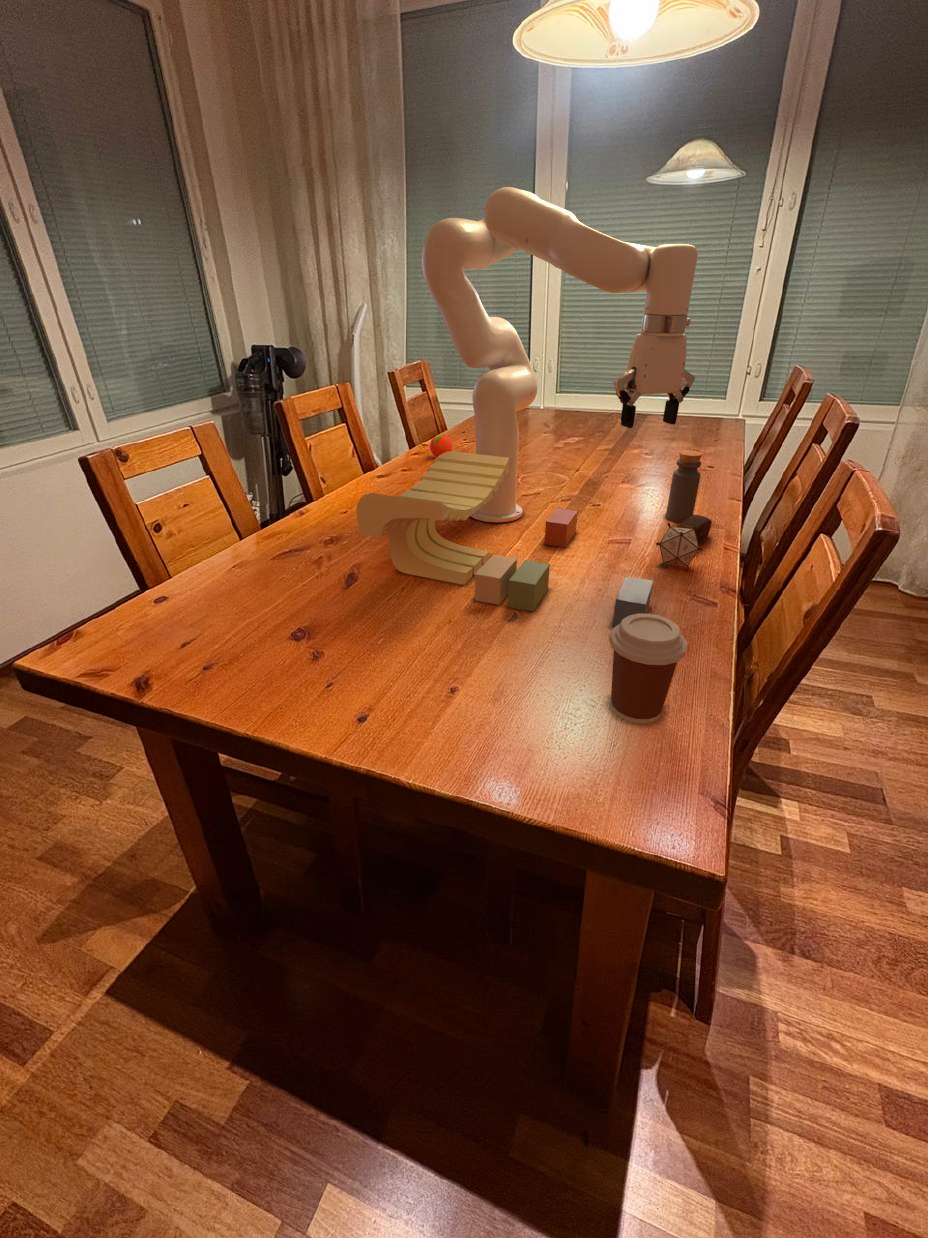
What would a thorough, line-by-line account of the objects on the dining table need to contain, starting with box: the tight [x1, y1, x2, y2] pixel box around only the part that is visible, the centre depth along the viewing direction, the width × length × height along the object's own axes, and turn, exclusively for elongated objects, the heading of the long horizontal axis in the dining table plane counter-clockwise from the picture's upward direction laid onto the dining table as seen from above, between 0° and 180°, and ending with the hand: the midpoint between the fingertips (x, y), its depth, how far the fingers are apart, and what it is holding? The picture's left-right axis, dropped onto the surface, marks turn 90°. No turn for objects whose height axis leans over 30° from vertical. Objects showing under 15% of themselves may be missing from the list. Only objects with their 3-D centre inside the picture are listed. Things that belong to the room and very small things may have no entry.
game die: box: [655, 522, 704, 571], centre depth 114 cm, size 9×8×10 cm
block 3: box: [611, 576, 654, 628], centre depth 97 cm, size 4×9×5 cm, turn 157°
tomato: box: [429, 434, 453, 458], centre depth 184 cm, size 8×7×7 cm
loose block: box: [543, 507, 579, 548], centre depth 127 cm, size 4×9×5 cm, turn 157°
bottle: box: [665, 450, 703, 523], centre depth 136 cm, size 6×6×15 cm
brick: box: [676, 514, 712, 545], centre depth 126 cm, size 11×4×5 cm, turn 141°
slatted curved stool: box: [355, 450, 509, 586], centre depth 112 cm, size 30×16×18 cm, turn 156°
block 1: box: [474, 554, 518, 606], centre depth 105 cm, size 4×9×5 cm, turn 157°
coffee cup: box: [608, 613, 688, 724], centre depth 75 cm, size 9×9×12 cm
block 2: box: [507, 559, 551, 612], centre depth 103 cm, size 4×9×5 cm, turn 157°
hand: (648, 424), depth 116 cm, fingers open, 9 cm apart
